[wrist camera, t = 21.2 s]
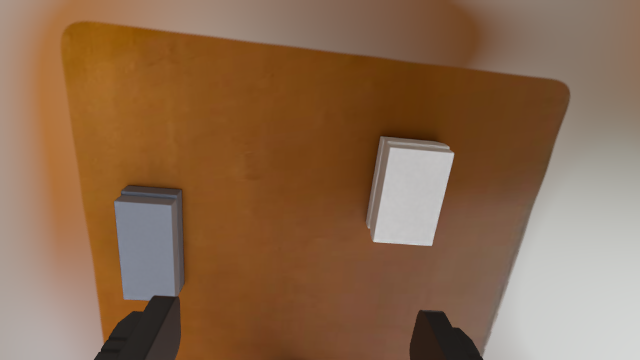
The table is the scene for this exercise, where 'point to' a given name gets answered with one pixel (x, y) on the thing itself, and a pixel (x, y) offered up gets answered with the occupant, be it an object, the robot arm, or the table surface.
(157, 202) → the grey books
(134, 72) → the table surface
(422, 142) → the white books
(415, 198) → the white book
